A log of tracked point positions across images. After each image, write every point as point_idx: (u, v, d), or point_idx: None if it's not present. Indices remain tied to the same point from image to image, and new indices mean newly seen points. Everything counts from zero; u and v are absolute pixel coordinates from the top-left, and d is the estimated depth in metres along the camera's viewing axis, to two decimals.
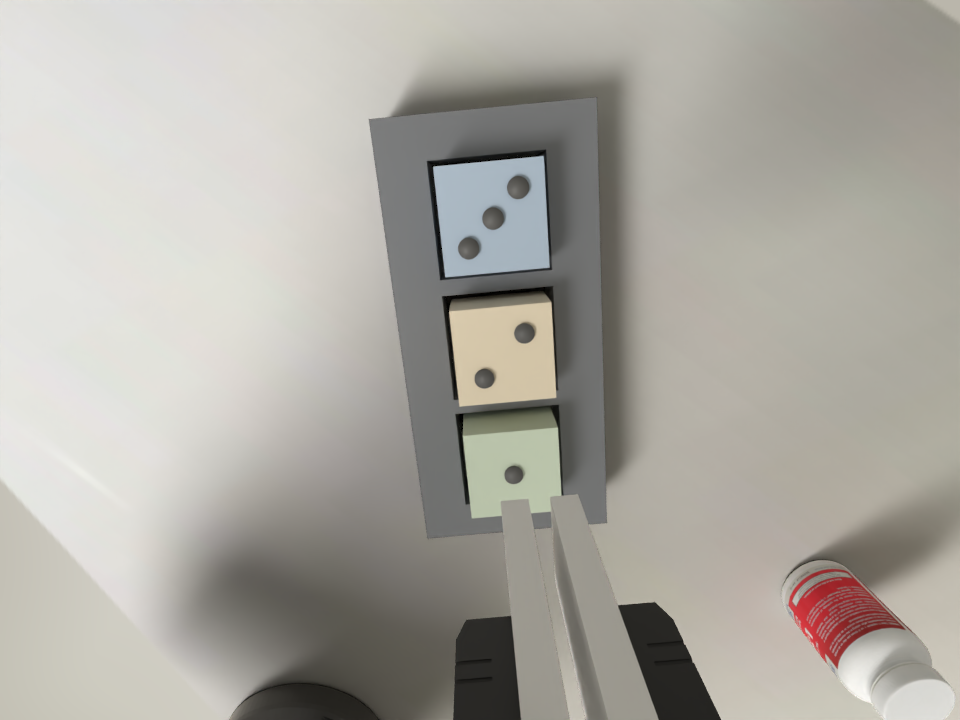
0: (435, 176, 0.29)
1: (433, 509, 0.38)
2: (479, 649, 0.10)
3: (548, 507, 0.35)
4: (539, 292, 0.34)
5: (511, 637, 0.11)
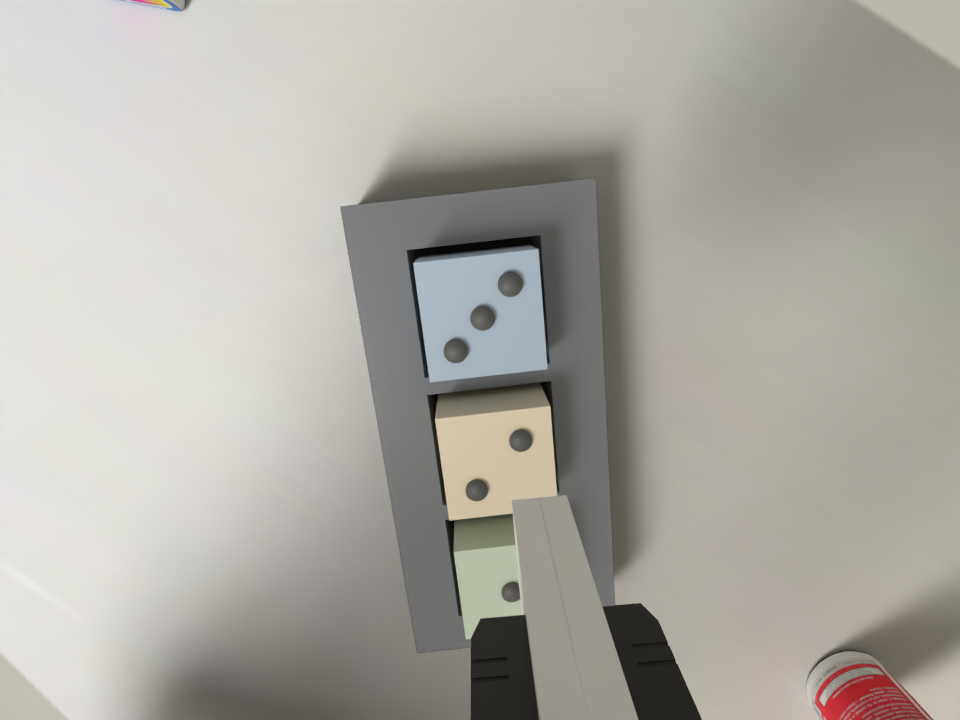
0: (416, 273, 0.25)
1: (423, 622, 0.34)
2: (494, 648, 0.10)
3: None
4: (536, 385, 0.31)
5: (526, 635, 0.11)
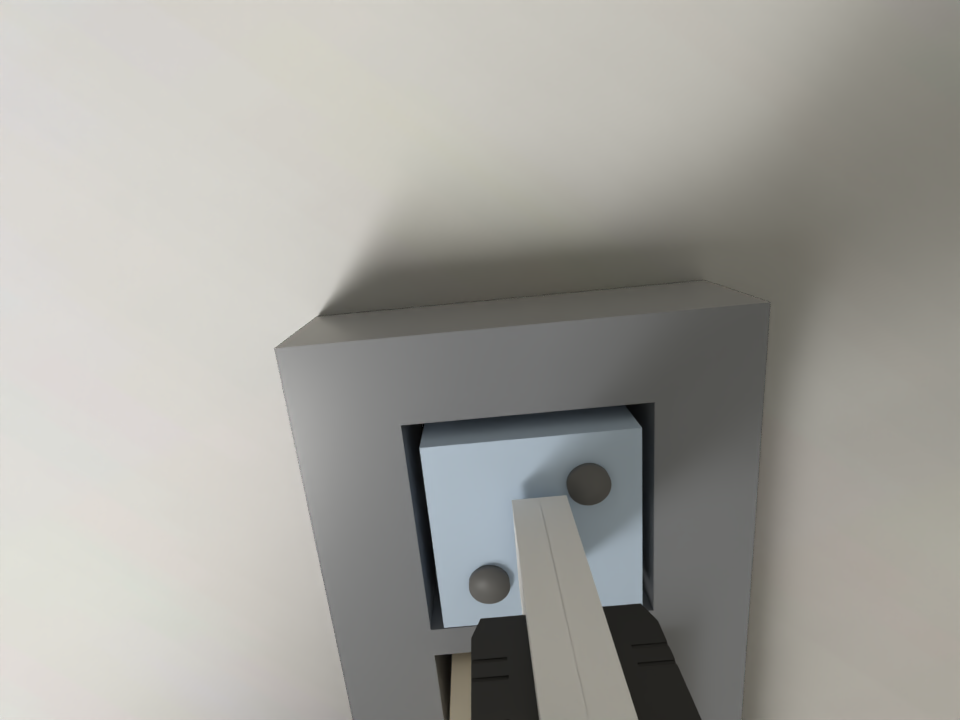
0: (424, 464, 0.14)
1: None
2: (494, 648, 0.10)
3: None
4: None
5: (526, 635, 0.11)
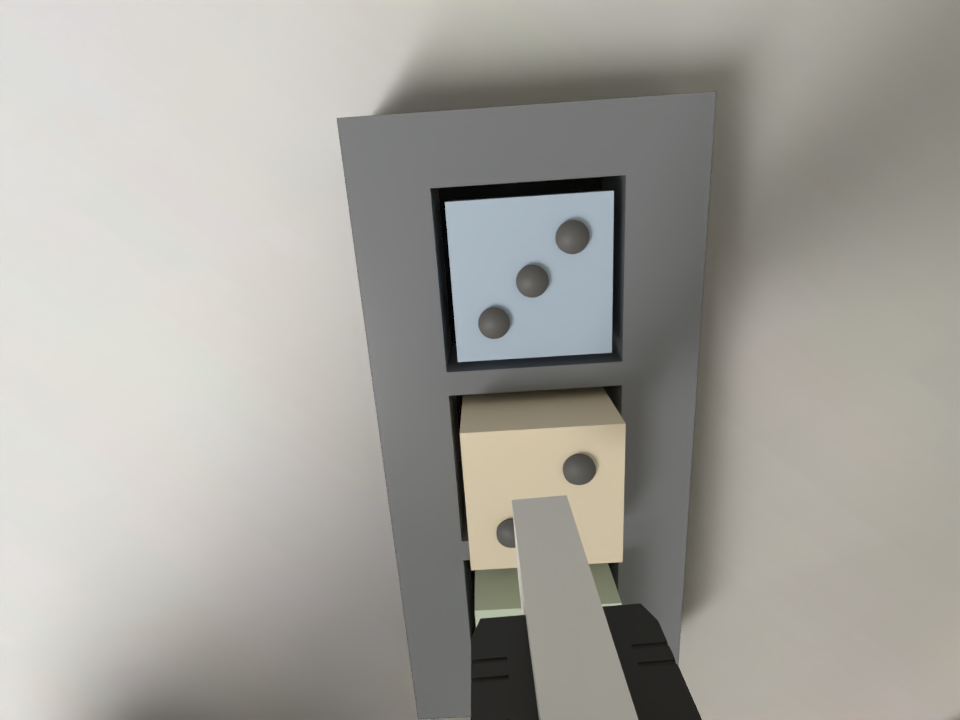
0: (447, 216, 0.19)
1: (428, 682, 0.26)
2: (494, 648, 0.10)
3: None
4: (597, 389, 0.22)
5: (526, 635, 0.11)
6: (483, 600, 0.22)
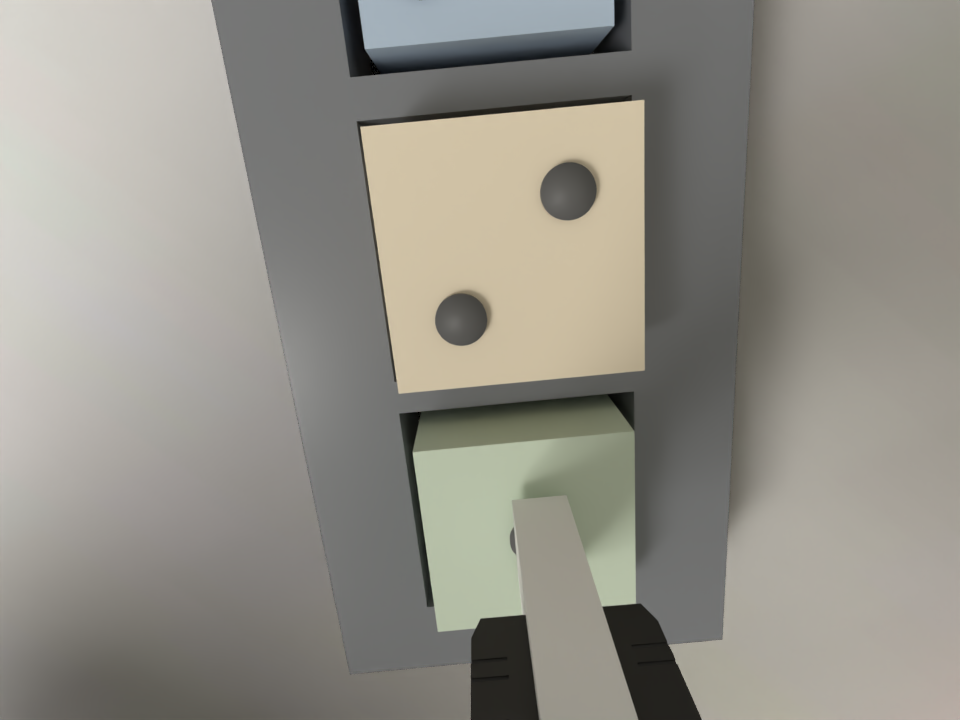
0: None
1: (360, 616, 0.18)
2: (495, 648, 0.10)
3: None
4: None
5: (526, 635, 0.11)
6: (427, 442, 0.15)
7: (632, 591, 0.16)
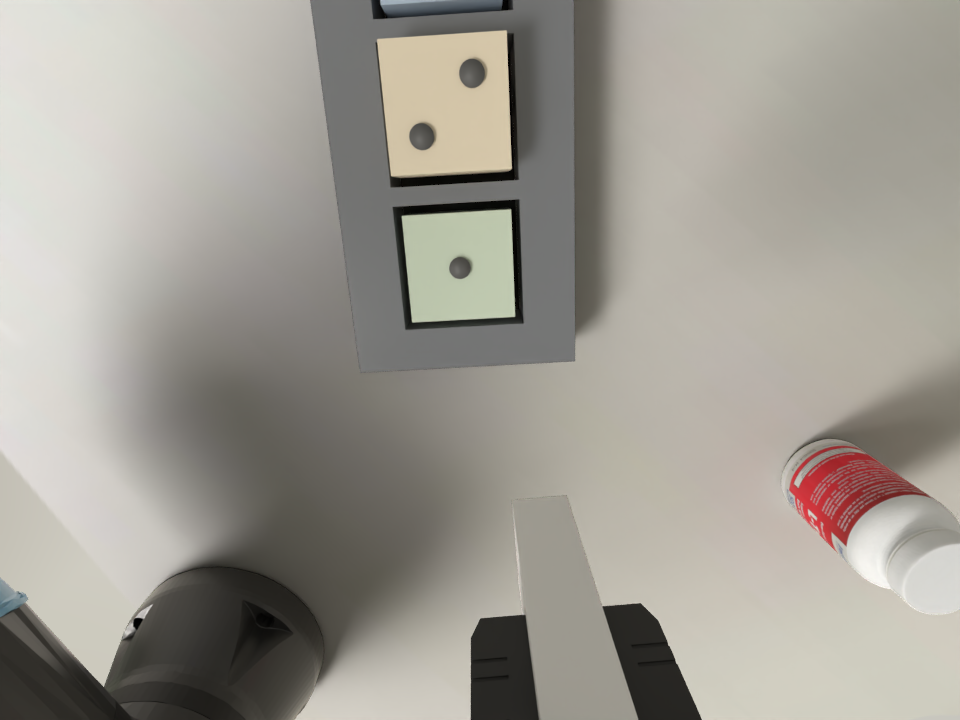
0: None
1: (367, 334, 0.31)
2: (494, 648, 0.10)
3: (499, 312, 0.31)
4: None
5: (526, 635, 0.11)
6: None
7: (513, 303, 0.30)
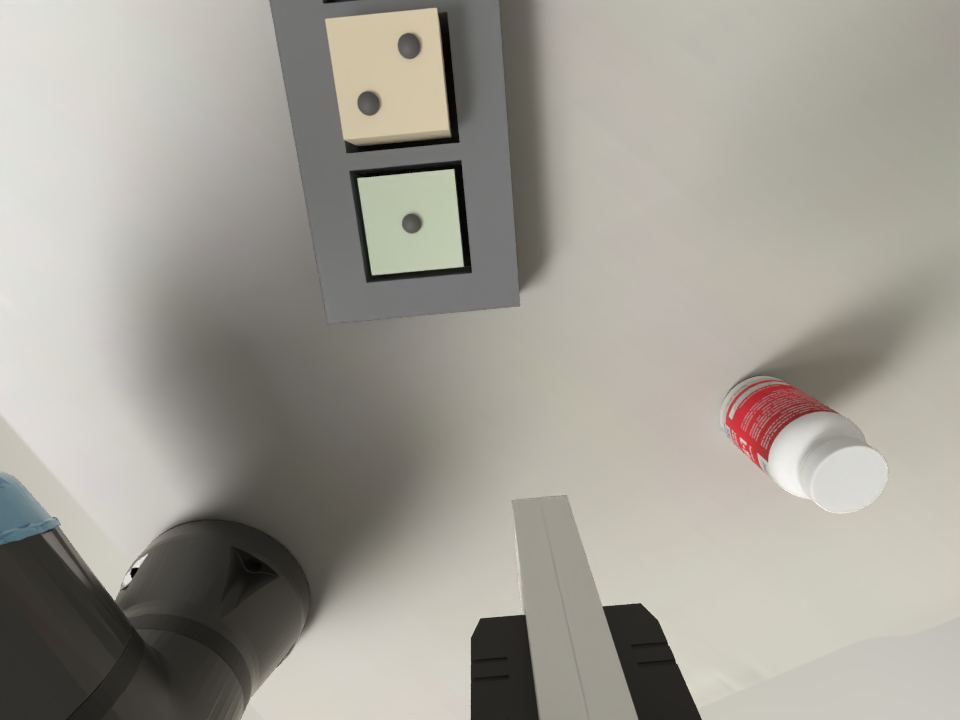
0: None
1: (332, 288, 0.35)
2: (494, 648, 0.10)
3: (449, 263, 0.34)
4: None
5: (526, 635, 0.11)
6: None
7: (460, 254, 0.34)
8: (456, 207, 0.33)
